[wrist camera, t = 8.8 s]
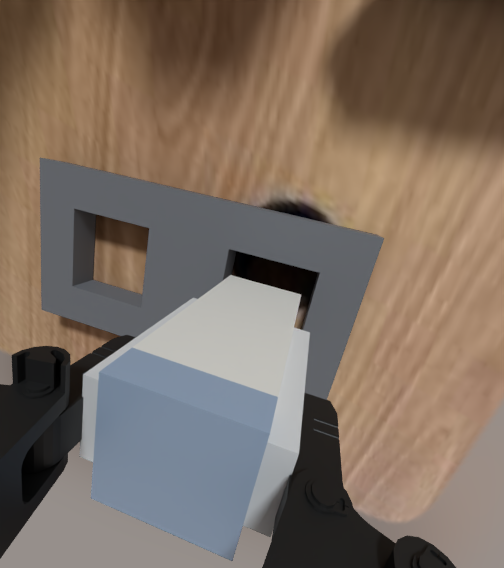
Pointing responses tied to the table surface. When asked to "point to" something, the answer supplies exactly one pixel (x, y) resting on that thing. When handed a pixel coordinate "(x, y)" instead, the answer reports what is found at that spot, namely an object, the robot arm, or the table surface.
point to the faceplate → (193, 257)
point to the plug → (195, 414)
